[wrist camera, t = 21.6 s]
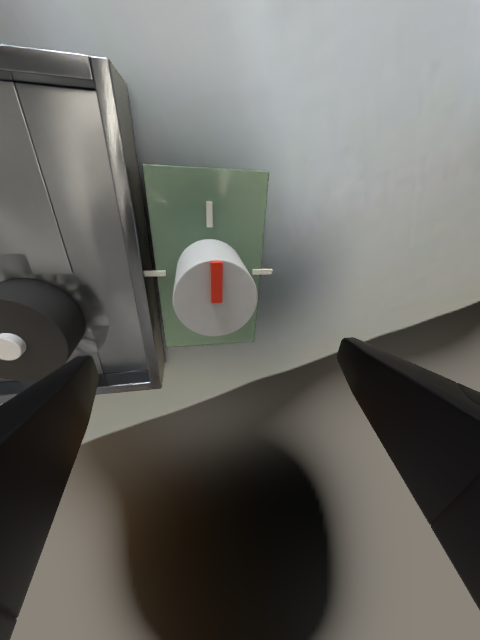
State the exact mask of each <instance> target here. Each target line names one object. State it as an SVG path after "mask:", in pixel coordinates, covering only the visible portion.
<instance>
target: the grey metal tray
mask: <svg viewBox="0 0 480 640" xmlns="http://www.w3.org/2000/svg"><path fill="white" fill-rule="evenodd" d="M0 80H4V81H13V82H23V83H33V84H42V85H52V86H61V87H71V88H81V89H90V90H96V95H97V100H98V105H99V111H100V116H101V121H102V127H103V132H104V137H105V143H106V148H107V153H108V159H109V164H110V169H111V175H112V180H113V185H114V191H115V196H116V201H117V207H118V212H119V217H120V223H121V228H122V233H123V239H124V244H125V249H126V255H127V260H128V265H129V271H130V276H131V281H132V287H133V292H134V297H135V303H136V308H137V313H138V319H139V324H140V329H141V335H142V340H143V345H144V351H145V356H146V361H147V366H148V370H143V371H131V372H118V373H106V374H105V373H104V374H98V375H99V381H98V385H97V390H96V394H106V393H117V392H128V391H139V390H150V389H151V388H152V389H161V388H162V381H163V374H164V366H165V357H164V350H163V343H162V335H161V328H160V321H159V314H158V307H157V299H156V292H155V285H154V278H153V276H152V277H145V274H144V271H152V263H151V256H150V249H149V242H148V235H147V228H146V220H145V213H144V206H143V199H142V192H141V184H140V177H139V170H138V163H137V156H136V148H135V141H134V134H133V127H132V120H131V112H130V105H129V98H128V91H127V85H126V83H125V81H124V80H123V79H122V77H121V76H120V74H119V73H118V71H117V70H116V68H115V67H114V66H113V64H112V63H111V61H110V60H109V59H108V58H105V57H97V56H90V57H89V56H88V55H83V54H75V53H67V52H59V51H51V50H43V49H35V48H27V47H19V46H11V45H4V44H0ZM39 380H41V379H39ZM39 380H33V381H6V382H0V403H5V402H7V401H8V400H10V399H11V398H13V397H14V396H16V395H18V394H19V393H21V392H22V391H24V390H25V389H27V388H28V387H30V386H32V385H33V384H35V383H36V382H38V381H39ZM96 394H95V395H96Z"/></svg>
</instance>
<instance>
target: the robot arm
mask: <svg viewBox="0 0 480 640" xmlns="http://www.w3.org/2000/svg"><path fill="white" fill-rule="evenodd" d="M337 359H338V363H339V365H340V367H341V369H342V371H343V373H344V376H345V378H346V380H347V382H348V384H349V386H350V389H351V391H352V393H353V395H354V396H355V398H356V400H357V402H358V404H359V405H360V407H361V409H362V410H363V412H364V414H365V415H366V417H367V419H368V420H369V422H370V424H371V426H372V427H373V429H374V431H375V432H376V434H377V436H378V438H379V439H380V441H381V443H382V444H383V446H384V448H385V449H386V451H387V453H388V455H389V456H390V458H391V460H392V461H393V463H394V465H395V466H396V468H397V470H398V471H399V473H400V475H401V477H402V478H403V480H404V482H405V484H406V485H407V487H408V488H409V490H410V492H411V494H412V495H413V497H414V499H415V501H416V502H417V504H418V505H419V507H420V509H421V511H422V512H423V514H424V516H425V518H426V519H427V521H428V523H429V524H430V525H431V528H432V530H433V531H434V533H435V535H436V537H437V538H438V540H439V541H440V543H441V545H442V546H443V548H444V550H445V552H446V554H447V555H448V557H449V559H450V560H451V562H452V564H453V565H454V567H455V569H456V571H457V572H458V574H459V576H460V577H461V579H462V581H463V582H464V584H465V586H466V587H467V589H468V591H469V593H470V594H471V596H472V598H473V600H474V601H475V603H476V604H477V606H478V608H479V610H480V392H478V391H475V390H473V389H471V388H468V387H466V386H464V385H462V384H459V383H456V382H454V381H452V380H450V379H448V378H445V377H443V376H441V375H438V374H436V373H434V372H432V371H429V370H427V369H425V368H422V367H420V366H418V365H416V364H413V363H411V362H409V361H406V360H404V359H402V358H399V357H397V356H395V355H393V354H390V353H388V352H386V351H384V350H381V349H379V348H377V347H374V346H372V345H370V344H368V343H365V342H363V341H361V340H359V339H356V338H353V337H351V338H344V339H342V341H341V344H340V347H339V350H338V354H337ZM98 381H99V375H98V371H97V368H96V365H95V362H94V359H93V357H92V356H90V355H85V356H77V357H75V358H73V359H72V360H70V361H69V362H67V363H66V364H64V365H62V366H61V367H59V368H58V369H56V370H55V371H53V372H52V373H50V374H49V375H47V376H45V377H44V378H42V379H41V380H39V381H38V382H36V383H35V384H33V385H32V386H30V387H28V388H27V389H25V390H24V391H22V392H21V393H19V394H18V395H16V396H14V397H13V398H11V399H10V400H8V401H7V402H5V403H4V404H2V405H1V406H0V640H10V638H11V635H12V632H13V629H14V627H15V624H16V621H17V620H16V618H17V617H18V615H19V612H20V610H21V607H22V604H23V602H24V599H25V596H26V593H27V591H28V587H29V585H30V582H31V580H32V577H33V574H34V571H35V569H36V566H37V563H38V560H39V558H40V555H41V552H42V549H43V547H44V544H45V541H46V538H47V535H48V533H49V530H50V528H51V524H52V522H53V519H54V516H55V514H56V511H57V508H58V506H59V503H60V500H61V497H62V495H63V492H64V489H65V487H66V484H67V481H68V478H69V476H70V473H71V470H72V467H73V465H74V462H75V459H76V456H77V454H78V451H79V448H80V445H81V443H82V440H83V437H84V435H85V432H86V429H87V426H88V423H89V419H90V415H91V411H92V407H93V402H94V398H95V394H96V390H97V385H98Z"/></svg>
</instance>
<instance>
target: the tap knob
mask: <svg viewBox="0 0 480 640" xmlns="http://www.w3.org/2000/svg"><path fill="white" fill-rule="evenodd" d="M257 296H258V294H257V288H256V285H255V282H254V280H253V279H252V277H251V275H250V274H249V272H248V270H247V269H246V267H245V265H244V264H243V262H242V260H241V259H240V257H239V255H238V254H237V252H236V251H235V250H234V249H233V248H232V247H231V246H229V245H228V244H226V243H224V242H222V241H219V240H215V239H204V240H200V241H197V242H195V243H193V244H191V245H190V246H188V247H187V248H186V249H185V250H184V251H183V253H182V254H181V256H180V258H179V260H178V263H177V269H176V276H175V283H174V290H173V307H174V310H175V313H176V315H177V317H178V318H179V320H180V321H181V322H182V323H183V325H185V326H186V327H187V328H188V329H190V330H191V331H193V332H195V333H198V334H200V335H205V336H223V335H227V334H230V333H233V332H235V331H237V330H238V329H240V328H241V327H242V326H244V325H245V324H246V323H247V322H248V321H249V319H250V318H251V316H252V315H253V313H254V311H255V308H256V305H257Z"/></svg>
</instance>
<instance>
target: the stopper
mask: <svg viewBox="0 0 480 640" xmlns="http://www.w3.org/2000/svg"><path fill="white" fill-rule="evenodd" d="M85 327H86V325H85V318H84V315H83V313H82V311H81V309H80V307H79V306H78V305H77V303H76V302H75V301H74V300H73V299H72V298H71V297H70V296H69V295H67V294H66V293H65V292H63V291H62V290H60V289H58V288H57V287H55V286H53V285H50V284H48V283H45V282H42V281H38V280H34V279H26V278H16V279H9V280H5V281H2V282H0V378H2V379H7V380H14V381H33V380H39V379H42V378H44V377H45V376H47V375H49V374H50V373H52V372H53V371H55V370H56V369H58V368H59V367H61V366H62V365H64V364H65V363H66V362H67V360H68V359H69V357H70V356H71V354H72V353H73V351H74V350H75V348H76V347H77V345H78V344H79V342H80V341H81V339H82V338H83V336H84V333H85Z"/></svg>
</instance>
